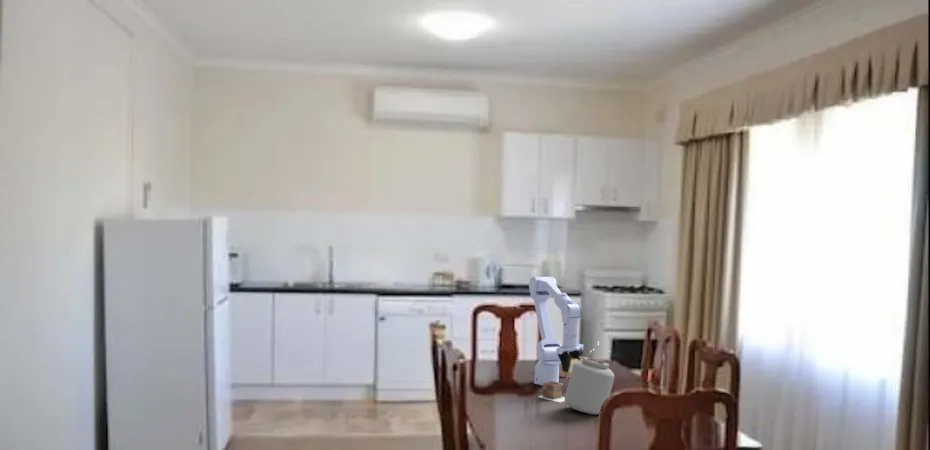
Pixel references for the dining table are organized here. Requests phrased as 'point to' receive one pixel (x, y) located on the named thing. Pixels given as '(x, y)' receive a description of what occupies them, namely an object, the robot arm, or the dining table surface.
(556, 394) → the walnut block
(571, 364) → the maple block
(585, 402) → the jar
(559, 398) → the white flat plate
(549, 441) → the dining table surface
